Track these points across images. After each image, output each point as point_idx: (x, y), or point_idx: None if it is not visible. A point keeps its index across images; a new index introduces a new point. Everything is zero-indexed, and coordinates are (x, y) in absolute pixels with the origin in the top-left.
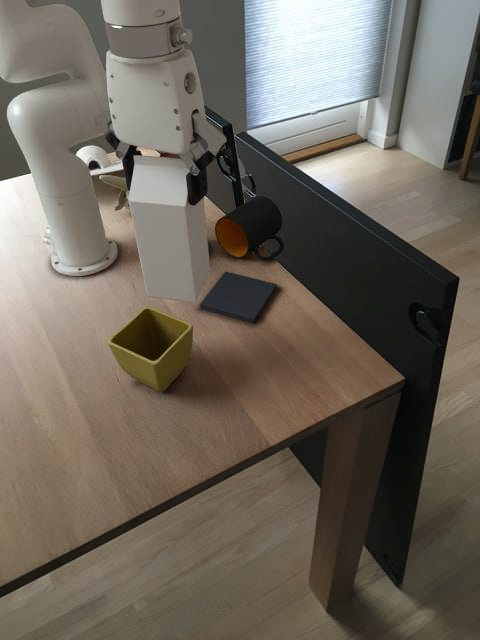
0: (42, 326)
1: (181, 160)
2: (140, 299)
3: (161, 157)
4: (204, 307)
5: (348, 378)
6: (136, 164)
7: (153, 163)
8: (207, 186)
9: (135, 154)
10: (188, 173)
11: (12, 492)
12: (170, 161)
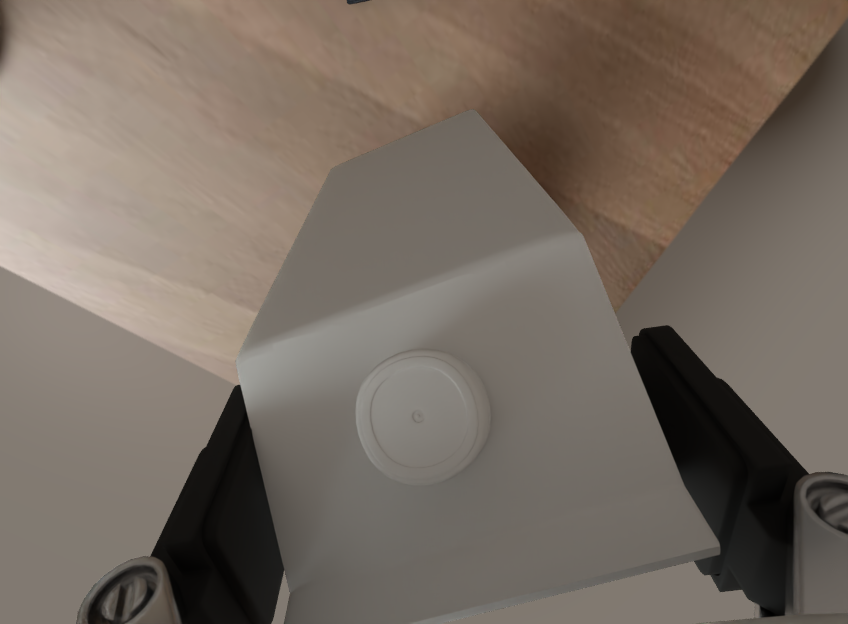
0: (120, 262)
1: (637, 563)
2: (194, 68)
3: (480, 610)
4: (361, 1)
5: (782, 20)
6: (305, 592)
7: (415, 578)
8: (735, 393)
9: (218, 582)
10: (726, 580)
11: None
12: (544, 571)
